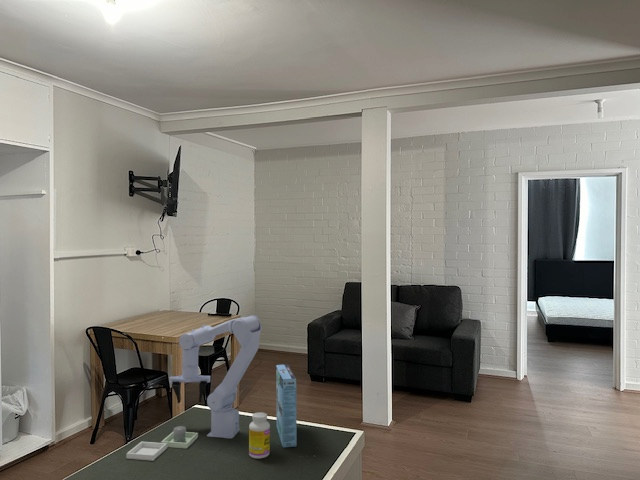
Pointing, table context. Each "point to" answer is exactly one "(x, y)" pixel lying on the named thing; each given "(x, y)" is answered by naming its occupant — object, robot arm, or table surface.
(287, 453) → the table surface
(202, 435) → the table surface
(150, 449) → the grey tray
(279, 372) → the light blue carton
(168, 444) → the sage tray
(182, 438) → the grey cylinder
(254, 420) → the supplement bottle
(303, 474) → the table surface
